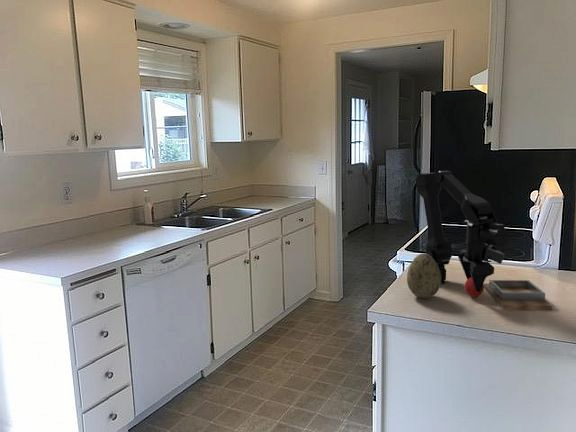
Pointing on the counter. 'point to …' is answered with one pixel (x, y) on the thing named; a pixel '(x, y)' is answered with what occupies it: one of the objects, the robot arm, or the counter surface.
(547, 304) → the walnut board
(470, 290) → the onion
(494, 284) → the square metal frame
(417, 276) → the decorative egg
